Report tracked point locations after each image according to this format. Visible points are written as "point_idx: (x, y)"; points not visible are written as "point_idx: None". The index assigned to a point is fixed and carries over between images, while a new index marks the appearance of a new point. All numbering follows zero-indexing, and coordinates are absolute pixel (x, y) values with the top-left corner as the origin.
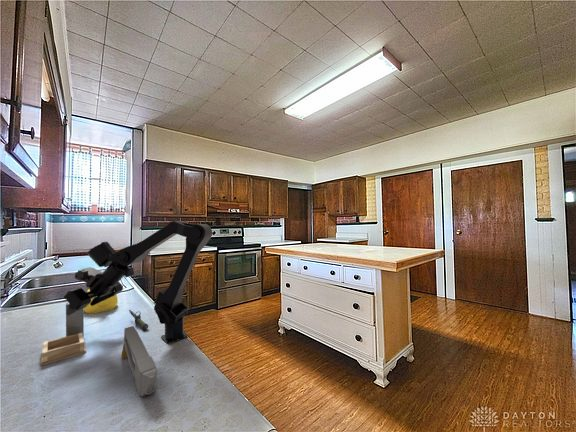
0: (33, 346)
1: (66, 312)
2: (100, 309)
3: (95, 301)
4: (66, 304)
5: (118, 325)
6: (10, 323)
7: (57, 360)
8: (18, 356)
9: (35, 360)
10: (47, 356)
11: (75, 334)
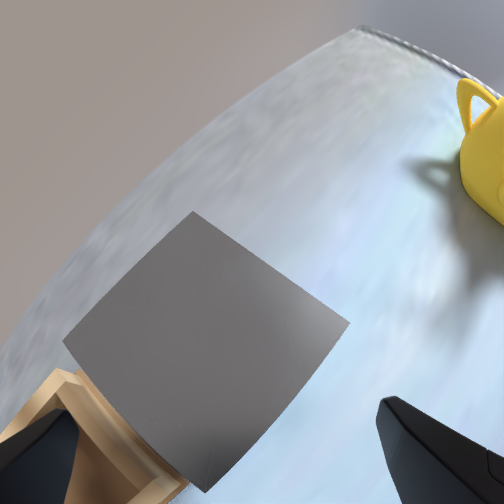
0: None
1: (45, 417)
2: (495, 211)
3: (404, 467)
4: (72, 336)
5: None
6: (311, 61)
7: None
8: (66, 300)
9: None
10: None
11: (139, 474)
